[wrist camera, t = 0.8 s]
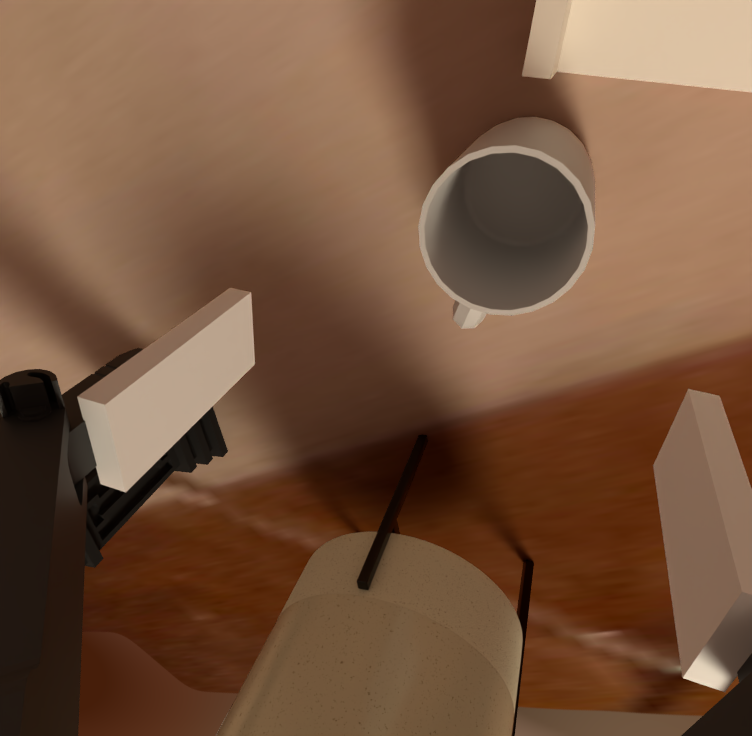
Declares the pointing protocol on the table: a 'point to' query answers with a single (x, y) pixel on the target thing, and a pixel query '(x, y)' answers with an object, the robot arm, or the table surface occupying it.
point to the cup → (510, 220)
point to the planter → (388, 643)
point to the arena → (644, 41)
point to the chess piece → (146, 484)
